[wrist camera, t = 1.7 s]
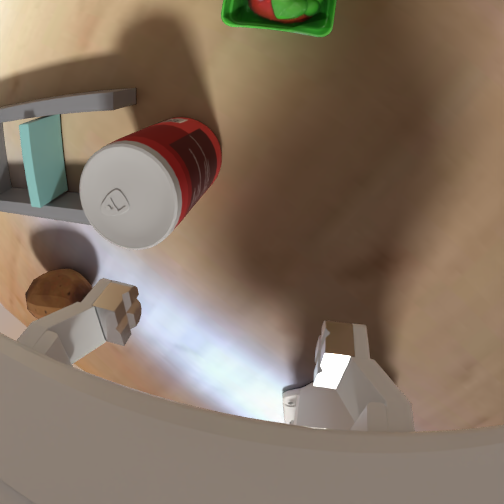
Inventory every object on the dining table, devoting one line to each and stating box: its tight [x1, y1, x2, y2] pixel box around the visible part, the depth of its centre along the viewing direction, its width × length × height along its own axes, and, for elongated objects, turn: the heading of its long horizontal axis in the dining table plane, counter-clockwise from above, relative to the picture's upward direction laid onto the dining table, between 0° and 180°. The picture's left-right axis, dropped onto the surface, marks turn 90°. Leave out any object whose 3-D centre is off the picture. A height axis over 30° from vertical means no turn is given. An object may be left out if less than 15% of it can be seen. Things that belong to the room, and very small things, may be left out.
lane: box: [0, 88, 136, 225], centre depth 27 cm, size 13×24×9 cm, turn 86°
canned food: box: [79, 117, 222, 250], centre depth 24 cm, size 8×8×11 cm
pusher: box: [19, 114, 68, 208], centre depth 28 cm, size 9×2×5 cm, turn 176°
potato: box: [25, 269, 92, 319], centre depth 38 cm, size 8×13×8 cm, turn 97°
